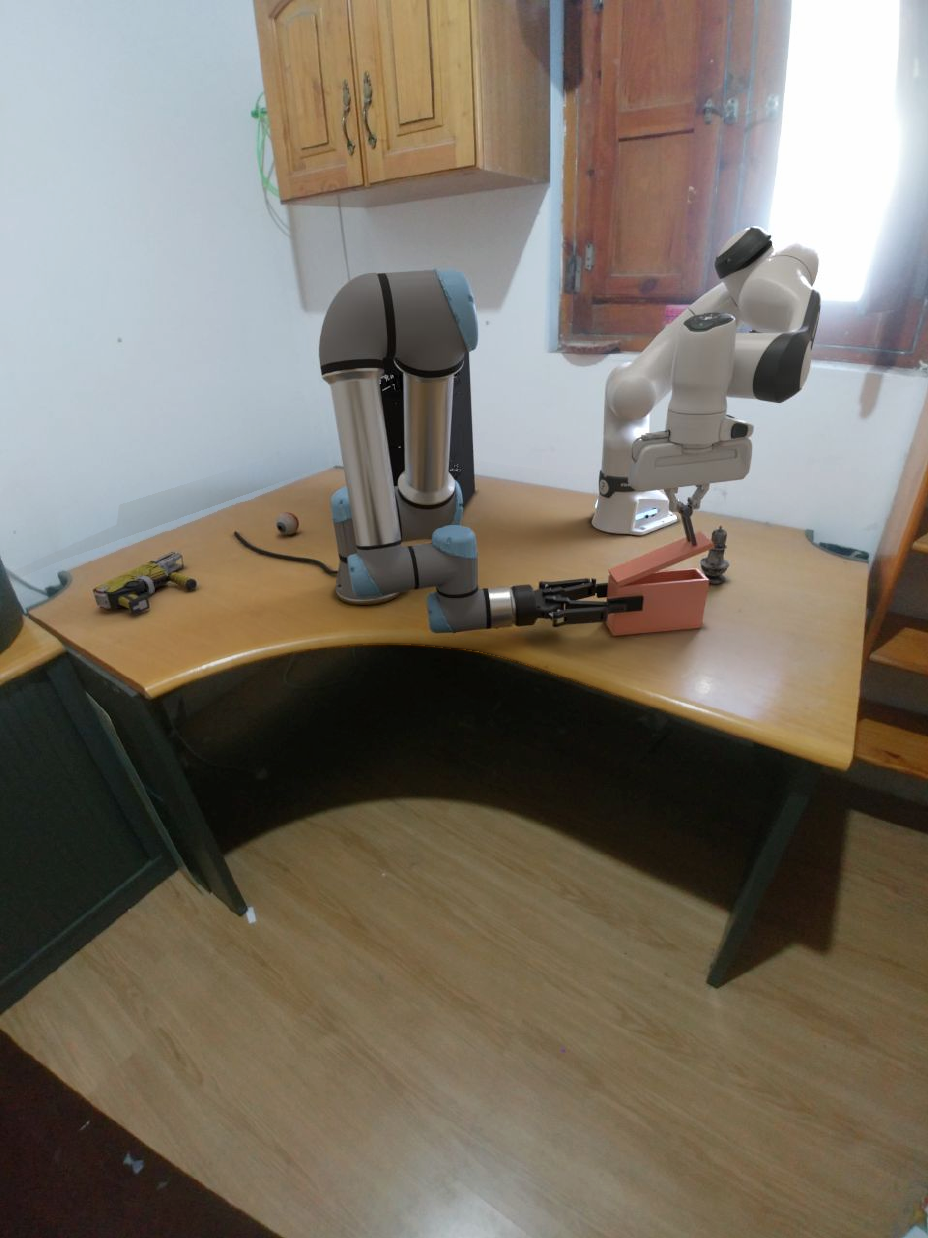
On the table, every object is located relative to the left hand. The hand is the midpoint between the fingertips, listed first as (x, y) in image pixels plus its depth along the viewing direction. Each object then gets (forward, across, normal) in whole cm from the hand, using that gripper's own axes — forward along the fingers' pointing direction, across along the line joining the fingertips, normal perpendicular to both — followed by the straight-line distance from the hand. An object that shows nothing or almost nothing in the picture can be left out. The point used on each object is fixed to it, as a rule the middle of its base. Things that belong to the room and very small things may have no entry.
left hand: (636, 595), depth 111 cm
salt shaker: (+23, -16, -7) cm, 29 cm away
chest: (+4, 0, -7) cm, 8 cm away
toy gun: (-99, -34, -7) cm, 105 cm away
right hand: (+7, 0, +16) cm, 17 cm away
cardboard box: (-36, -73, -7) cm, 82 cm away
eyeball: (-75, -63, -7) cm, 98 cm away
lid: (+4, 0, +6) cm, 8 cm away
